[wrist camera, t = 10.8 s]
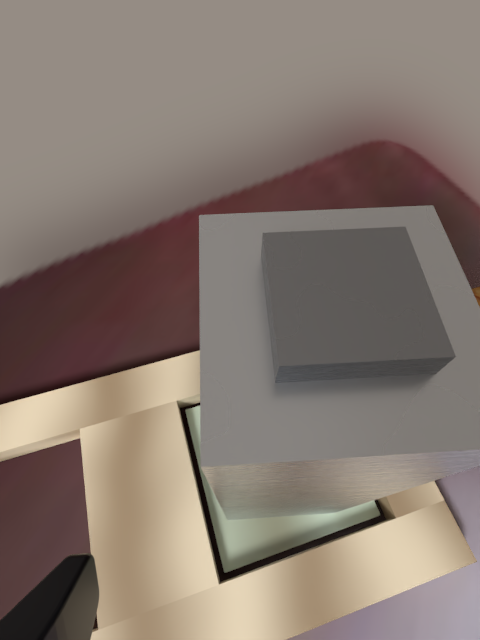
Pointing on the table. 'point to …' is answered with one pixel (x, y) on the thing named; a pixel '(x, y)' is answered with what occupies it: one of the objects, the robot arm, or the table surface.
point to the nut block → (333, 358)
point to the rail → (215, 522)
